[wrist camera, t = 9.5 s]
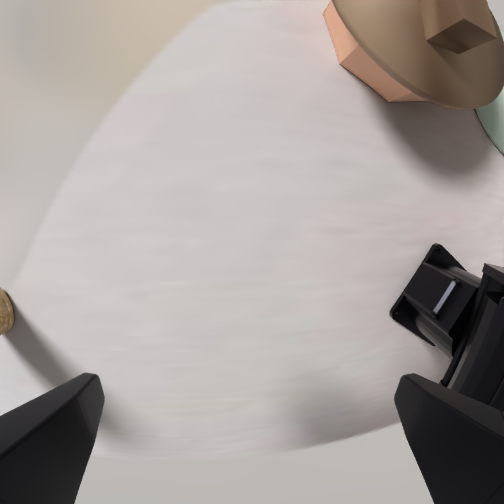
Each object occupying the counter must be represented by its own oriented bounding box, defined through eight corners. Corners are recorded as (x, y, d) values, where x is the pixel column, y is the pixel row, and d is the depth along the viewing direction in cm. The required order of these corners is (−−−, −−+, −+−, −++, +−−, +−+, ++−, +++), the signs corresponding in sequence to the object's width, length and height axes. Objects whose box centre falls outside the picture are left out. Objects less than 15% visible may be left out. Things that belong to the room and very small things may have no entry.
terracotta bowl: (459, 47, 16) (496, 31, 11) (418, 129, 18) (463, 121, 13) (362, -31, 14) (386, -64, 10) (301, 39, 16) (321, 2, 11)
